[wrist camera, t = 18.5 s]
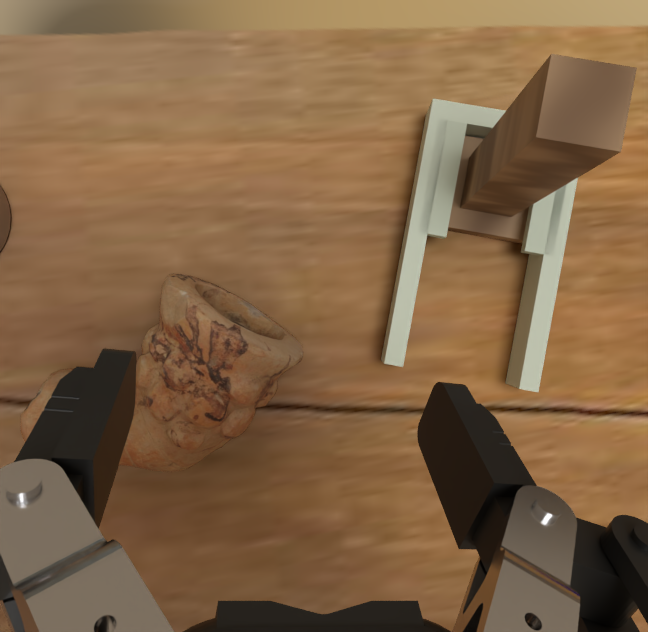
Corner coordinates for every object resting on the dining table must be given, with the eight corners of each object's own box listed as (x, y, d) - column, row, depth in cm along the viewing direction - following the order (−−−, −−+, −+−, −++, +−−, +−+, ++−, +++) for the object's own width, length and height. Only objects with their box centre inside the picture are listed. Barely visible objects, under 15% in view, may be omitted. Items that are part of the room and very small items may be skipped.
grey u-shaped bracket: (380, 360, 39) (384, 363, 36) (425, 115, 39) (432, 98, 36) (523, 386, 39) (538, 392, 36) (568, 139, 39) (587, 124, 36)
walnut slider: (432, 227, 39) (496, 164, 23) (449, 139, 39) (524, 14, 23) (522, 243, 39) (648, 191, 23) (539, 154, 39) (677, 39, 23)
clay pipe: (296, 438, 43) (315, 272, 39) (281, 524, 33) (303, 313, 28) (84, 411, 43) (78, 243, 39) (4, 488, 33) (-18, 273, 29)
